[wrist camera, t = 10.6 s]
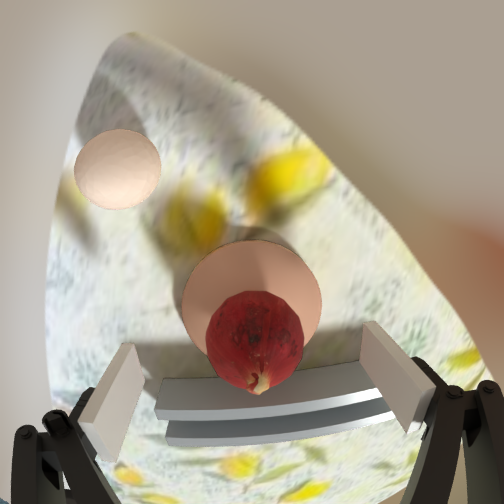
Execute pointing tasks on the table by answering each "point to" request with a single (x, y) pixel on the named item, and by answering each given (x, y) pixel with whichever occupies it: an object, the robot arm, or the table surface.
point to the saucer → (249, 284)
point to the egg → (117, 169)
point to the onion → (254, 340)
